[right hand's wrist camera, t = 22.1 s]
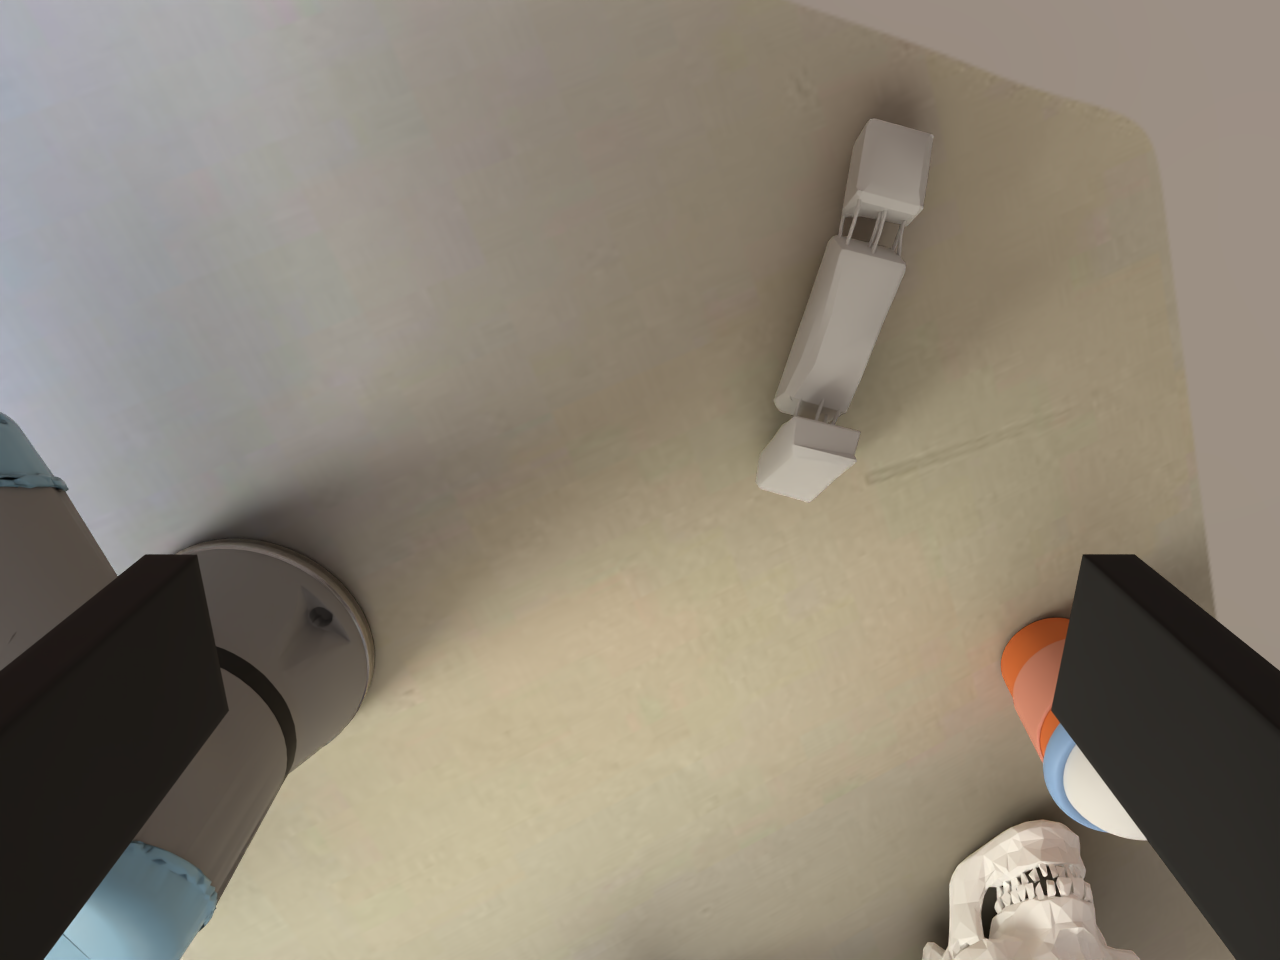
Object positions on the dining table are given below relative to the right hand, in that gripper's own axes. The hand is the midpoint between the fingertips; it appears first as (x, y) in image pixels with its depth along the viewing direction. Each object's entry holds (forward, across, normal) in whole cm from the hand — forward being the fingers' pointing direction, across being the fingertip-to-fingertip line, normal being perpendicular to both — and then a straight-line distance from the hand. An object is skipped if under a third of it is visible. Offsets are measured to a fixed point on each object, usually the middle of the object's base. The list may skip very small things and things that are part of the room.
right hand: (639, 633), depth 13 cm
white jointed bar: (+36, -11, +2) cm, 38 cm away
